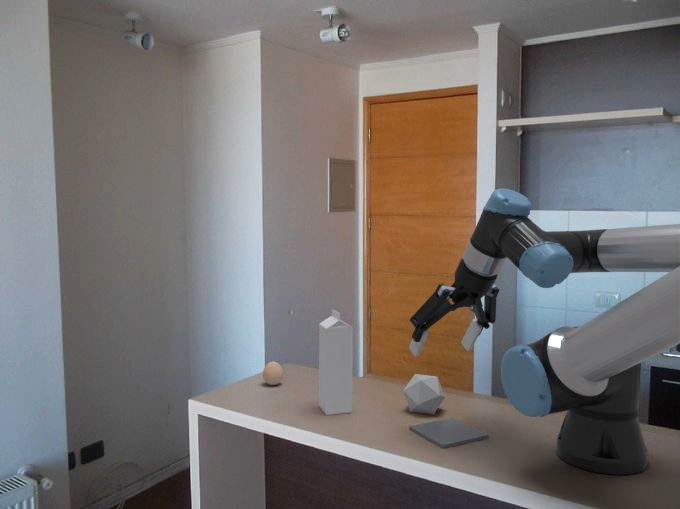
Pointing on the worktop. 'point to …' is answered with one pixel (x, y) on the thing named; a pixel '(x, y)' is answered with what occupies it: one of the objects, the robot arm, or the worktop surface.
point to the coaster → (448, 432)
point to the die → (424, 394)
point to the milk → (335, 365)
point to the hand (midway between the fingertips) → (440, 349)
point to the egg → (272, 373)
